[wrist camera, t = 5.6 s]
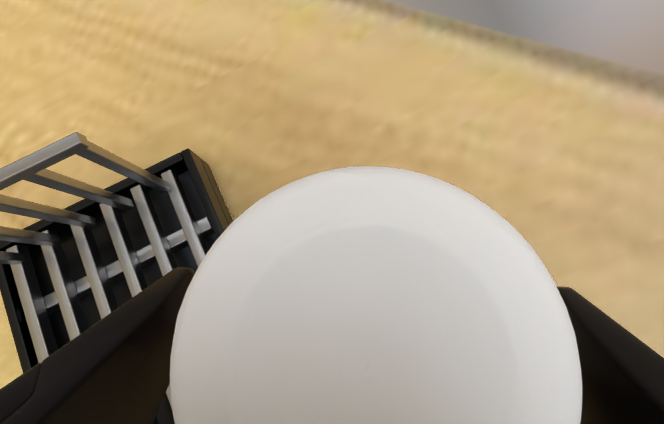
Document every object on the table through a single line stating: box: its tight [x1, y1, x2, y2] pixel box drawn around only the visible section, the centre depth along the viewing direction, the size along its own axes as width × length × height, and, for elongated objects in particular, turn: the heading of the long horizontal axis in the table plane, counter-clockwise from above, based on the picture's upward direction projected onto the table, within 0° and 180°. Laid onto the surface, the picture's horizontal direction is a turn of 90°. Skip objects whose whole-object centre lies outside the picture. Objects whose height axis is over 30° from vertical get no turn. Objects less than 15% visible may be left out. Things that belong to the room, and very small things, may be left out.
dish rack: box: [0, 132, 233, 424], centre depth 13 cm, size 10×18×8 cm, turn 26°
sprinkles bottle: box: [170, 166, 582, 424], centre depth 10 cm, size 5×5×13 cm
